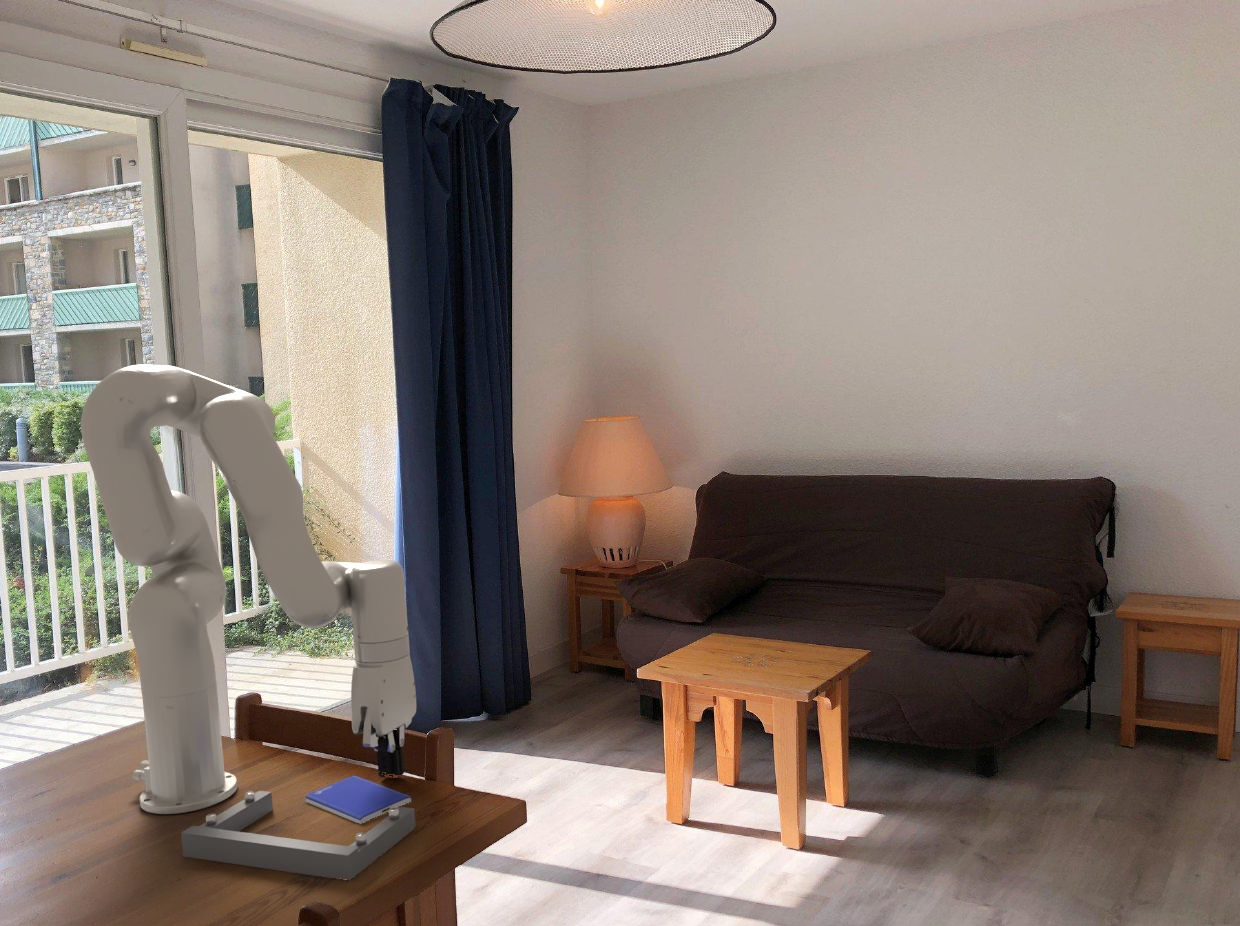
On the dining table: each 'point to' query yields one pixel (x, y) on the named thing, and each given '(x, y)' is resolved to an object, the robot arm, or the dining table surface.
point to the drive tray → (289, 842)
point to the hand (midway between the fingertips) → (391, 775)
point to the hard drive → (357, 799)
